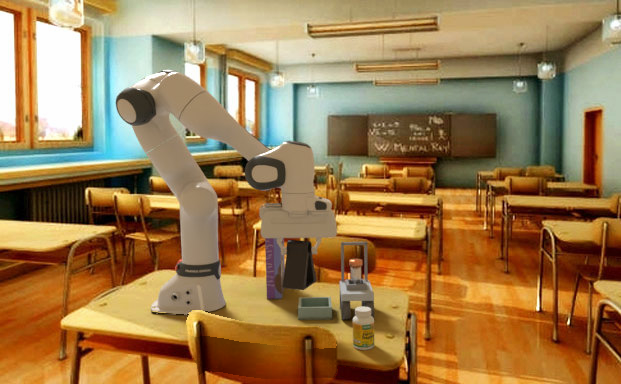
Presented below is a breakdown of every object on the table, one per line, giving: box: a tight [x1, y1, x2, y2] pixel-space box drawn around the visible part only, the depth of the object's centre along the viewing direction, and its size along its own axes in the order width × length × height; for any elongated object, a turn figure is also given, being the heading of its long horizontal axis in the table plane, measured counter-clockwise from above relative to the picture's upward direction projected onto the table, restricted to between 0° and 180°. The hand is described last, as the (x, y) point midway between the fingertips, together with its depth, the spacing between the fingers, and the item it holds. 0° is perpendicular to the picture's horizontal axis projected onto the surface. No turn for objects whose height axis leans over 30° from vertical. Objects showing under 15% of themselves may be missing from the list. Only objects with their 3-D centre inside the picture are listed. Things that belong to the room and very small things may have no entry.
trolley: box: [339, 241, 375, 320], centre depth 156 cm, size 9×14×20 cm, turn 0°
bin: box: [297, 296, 333, 321], centre depth 158 cm, size 10×10×4 cm
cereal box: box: [264, 238, 286, 300], centre depth 180 cm, size 17×5×24 cm, turn 179°
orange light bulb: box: [348, 258, 363, 284], centre depth 156 cm, size 4×4×8 cm
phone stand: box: [282, 239, 317, 291], centre depth 144 cm, size 9×6×12 cm, turn 156°
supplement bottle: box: [352, 306, 375, 351], centre depth 134 cm, size 5×5×10 cm
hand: (299, 254), depth 144 cm, fingers closed on phone stand, 7 cm apart
